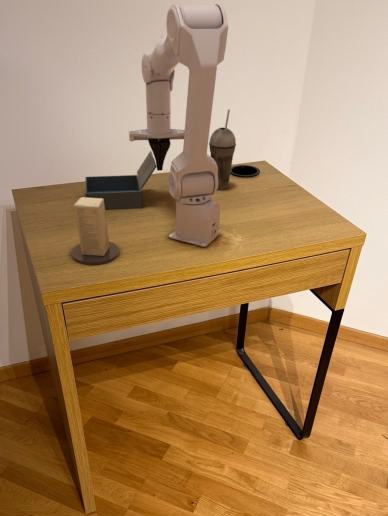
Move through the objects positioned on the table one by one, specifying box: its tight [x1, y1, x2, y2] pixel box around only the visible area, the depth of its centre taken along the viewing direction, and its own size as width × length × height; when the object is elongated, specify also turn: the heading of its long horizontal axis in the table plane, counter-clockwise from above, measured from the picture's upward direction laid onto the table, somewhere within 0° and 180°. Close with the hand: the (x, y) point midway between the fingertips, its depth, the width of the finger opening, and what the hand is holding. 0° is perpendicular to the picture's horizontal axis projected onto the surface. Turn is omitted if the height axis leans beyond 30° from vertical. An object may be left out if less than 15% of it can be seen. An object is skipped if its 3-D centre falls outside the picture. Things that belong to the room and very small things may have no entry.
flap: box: [136, 150, 157, 190], centre depth 125 cm, size 7×12×1 cm
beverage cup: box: [208, 109, 237, 191], centre depth 132 cm, size 7×7×20 cm
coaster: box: [71, 241, 120, 266], centre depth 106 cm, size 10×10×1 cm
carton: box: [84, 174, 143, 211], centre depth 127 cm, size 14×12×4 cm
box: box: [73, 196, 110, 256], centre depth 102 cm, size 5×4×11 cm
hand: (159, 169), depth 126 cm, fingers closed
